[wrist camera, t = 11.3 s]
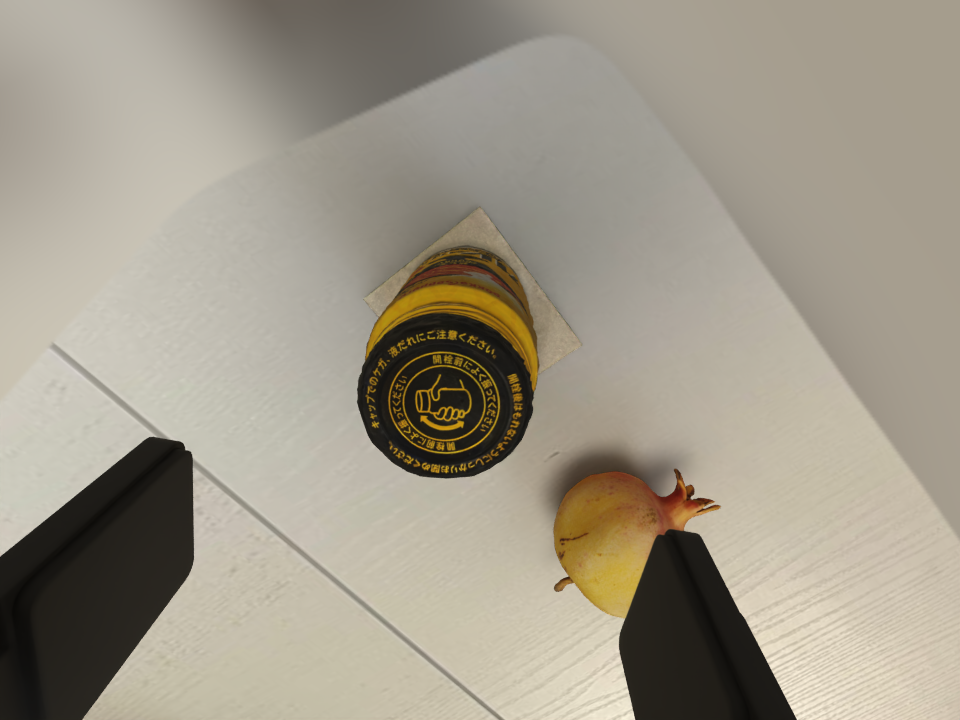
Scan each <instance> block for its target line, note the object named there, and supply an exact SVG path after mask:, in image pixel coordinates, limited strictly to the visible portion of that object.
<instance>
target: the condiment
mask: <svg viewBox="0 0 960 720" xmlns="http://www.w3.org/2000/svg"><path fill="white" fill-rule="evenodd" d="M363 300H364V301H365V302H366V303H367V304H368V306H369V307H370V308H371V309H372V310H373V311H374V312H375V314H376V315H377V316H378V317H379V318H378V320H377V322H376V323H375V325H374V327H373V330H372V332H371V335H370V339H369V341H368V343H367V347H366V356H365V363H364V365H363V367H362V373H361V375H360V377H359V380H358V388H357V391H358V400H357V403H358V407H359V411H360V414H361V417H362V420H363V422H364V425H365V428H366V431H367V434H368V436H369V438H370V440H371V441H372V443H373V444H374V445H375V446H376V447H377V448H378V449H379V450H380V451H381V452H382V453H383V454H384V455H385V456H386V457H387V458H388V459H389V460H390V461H391V462H393V463H394V464H395V465H397V466H399V467H401V468H402V469H404V470H406V471H407V472H410V473H413V474H416V475H419V476H422V477H432V478H457V477H470V476H475V475H477V474H479V473H481V472H484V471H486V470H488V469H490V468H492V467H493V466H494V465H496V464H497V463H499V462H501V461H503V460H504V459H505V458H506V457H507V456H508V455H510V454H511V453H512V452H513V450H514V449H515V448H516V446H517V445H518V444H519V443H520V441H521V440H522V438H523V436H524V433H525V431H526V429H527V426H528V423H529V420H530V418H531V416H532V413H533V406H532V401H533V398H534V397H533V395H534V391H535V389H536V384H537V375H538V374H540V373H542V372H543V371H545V370H546V369H548V368H549V367H551V366H552V365H553V364H555V363H556V362H557V361H559V360H560V359H562V358H564V357H565V356H567V355H568V354H570V353H571V352H573V351H574V350H576V349H577V348H579V347H580V346H582V344H581V342H580V341H579V339H578V338H577V337H576V335H575V334H574V333H573V331H572V330H571V329H570V327H569V326H568V325H567V323H566V322H565V321H564V319H563V318H562V317H561V315H560V314H559V313H558V311H557V310H556V309H555V307H554V306H553V304H552V303H551V302H550V300H549V299H548V298H547V296H546V295H545V293H544V292H543V291H542V289H541V288H540V287H539V285H538V284H537V283H536V281H535V280H534V278H533V277H532V276H531V274H530V273H529V272H528V270H527V269H526V268H525V266H524V265H523V263H522V262H521V261H520V259H519V258H518V257H517V255H516V254H515V253H514V251H513V250H512V249H511V247H510V246H509V245H508V243H507V242H506V240H505V239H504V238H503V236H502V235H501V234H500V232H499V231H498V230H497V228H496V227H495V226H494V224H493V223H492V221H491V220H490V219H489V217H488V216H487V215H486V213H485V212H484V211H483V210H482V208H481V207H479V208H478V209H476V210H475V211H474V212H473V213H471V214H470V215H469V216H468V217H466V218H465V219H464V220H463V221H461V222H460V223H459V224H457V225H456V226H455V227H454V228H452V229H451V230H450V231H449V232H447V233H446V234H445V235H444V236H442V237H441V238H440V239H438V240H437V241H436V242H435V243H433V244H432V245H431V246H430V247H428V248H427V249H426V250H425V251H423V252H422V253H421V254H420V255H418V256H417V257H416V258H414V259H413V260H412V261H411V262H409V263H408V264H407V265H406V266H404V267H403V268H402V269H401V270H399V271H398V272H397V273H396V274H394V275H393V276H392V277H390V278H389V279H388V280H387V281H386V282H384V283H383V284H382V285H381V286H379V287H378V288H377V289H376V290H374V291H373V292H372V293H371V294H369V295H368V296H367V297H365V298H364V299H363Z"/></svg>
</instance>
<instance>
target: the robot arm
mask: <svg viewBox="0 0 960 720" xmlns="http://www.w3.org/2000/svg"><path fill="white" fill-rule="evenodd" d="M193 561H194V527H193V458H192V454H191V452H190V451H187V450H185V446H184V444H183V443H182V442H179V441H174V440H168V439H162V438H157V437H149V438H147V439H146V440H144V441H143V442H142V443H141V444H139V445H138V446H137V447H136V448H134V449H133V450H132V451H131V452H129V453H128V454H127V455H126V456H124V457H123V458H122V459H121V460H119V461H118V462H117V463H116V464H114V465H113V466H112V467H111V468H110V469H108V470H107V471H106V472H105V473H103V474H102V475H101V476H100V477H98V478H97V479H96V480H95V481H93V482H92V483H91V484H90V485H88V486H87V487H86V488H85V489H84V490H82V491H81V492H80V493H79V494H77V495H76V496H75V497H74V498H72V499H71V500H70V501H69V502H67V503H66V504H65V505H64V506H62V507H61V508H60V509H59V510H58V511H56V512H55V513H54V514H53V515H51V516H50V517H49V518H48V519H46V520H45V521H44V522H43V523H41V524H40V525H39V526H38V527H36V528H35V529H34V530H33V531H32V532H30V533H29V534H28V535H27V536H25V537H24V538H23V539H22V540H20V541H19V542H18V543H17V544H15V545H14V546H13V547H12V548H10V549H9V550H8V551H7V552H5V553H4V554H3V555H2V556H1V557H0V720H82V719H83V718H84V716H85V715H86V714H87V712H88V711H89V710H90V708H91V707H92V706H93V704H94V703H95V701H96V700H97V699H98V697H99V696H100V695H101V693H102V692H103V691H104V689H105V688H106V687H107V685H108V684H109V683H110V681H111V680H112V678H113V677H114V676H115V674H116V673H117V672H118V670H119V669H120V668H121V666H122V665H123V664H124V662H125V661H126V660H127V658H128V657H129V656H130V654H131V653H132V651H133V650H134V649H135V647H136V646H137V645H138V643H139V642H140V641H141V639H142V638H143V637H144V635H145V634H146V633H147V631H148V630H149V629H150V627H151V626H152V624H153V623H154V622H155V620H156V619H157V618H158V616H159V615H160V614H161V612H162V611H163V610H164V608H165V607H166V606H167V604H168V603H169V602H170V600H171V599H172V597H173V596H174V595H175V593H176V592H177V591H178V589H179V588H180V587H181V585H182V584H183V583H184V581H185V580H186V578H187V577H188V575H189V573H190V571H191V569H192V566H193ZM619 650H620V655H621V660H622V664H623V668H624V673H625V677H626V681H627V685H628V690H629V694H630V698H631V703H632V707H633V711H634V716H635V720H797V719H796V717H795V715H794V713H793V711H792V709H791V707H790V706H789V704H788V702H787V700H786V698H785V696H784V694H783V692H782V690H781V688H780V686H779V684H778V682H777V680H776V678H775V676H774V674H773V673H772V671H771V669H770V667H769V665H768V663H767V661H766V659H765V657H764V655H763V653H762V651H761V649H760V647H759V645H758V643H757V641H756V640H755V638H754V636H753V634H752V632H751V630H750V628H749V626H748V624H747V622H746V620H745V619H744V617H743V616H742V614H741V613H740V612H739V610H738V608H737V606H736V604H735V602H734V600H733V598H732V596H731V594H730V592H729V590H728V588H727V587H726V585H725V583H724V581H723V579H722V577H721V575H720V573H719V571H718V569H717V567H716V565H715V563H714V561H713V559H712V557H711V555H710V553H709V551H708V549H707V547H706V545H705V543H704V542H703V540H702V538H701V536H700V535H699V534H697V533H692V532H686V531H680V530H675V529H668V530H667V531H666V532H665V534H664V535H661V534H659V535H657V536H656V538H655V540H654V543H653V545H652V548H651V551H650V553H649V556H648V559H647V562H646V564H645V567H644V570H643V572H642V575H641V578H640V580H639V583H638V586H637V589H636V591H635V594H634V597H633V599H632V602H631V605H630V607H629V610H628V613H627V616H626V618H625V621H624V624H623V626H622V629H621V632H620V637H619Z"/></svg>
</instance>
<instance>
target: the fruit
mask: <svg viewBox="0 0 960 720" xmlns="http://www.w3.org/2000/svg"><path fill="white" fill-rule="evenodd" d="M674 472H675V474H676V478H677V485H676V488H675V490H674V492H673V493H672V494H670V495H669V496H667V497H660V496H658V495H657V494H655V493H654V492H653V491H652V490H651V489H650V488H649V487H648V486H647V484H646V483H645V482H644V481H642V480H641V479H639V478H637V477H635V476H632V475H629V474H627V473H622V472H617V471H613V472H606V473H601V474H594V475H591V476H588V477H586V478H585V479H583V480H582V481H580V482H578V483H577V484H576V485H575V486H574V487H573V488H571V489H570V490H569V491H568V492H567V493H566V495H565V497H564V498H563V500H562V502H561V504H560V507H559V509H558V512H557V515H556V518H555V522H554V544H555V550H556V553H557V556H558V559H559V561H560V563H561V565H562V567H563V568H564V570H565V571H566V573H567V574H568V575H569V577H566V578H563V579H562V580H560V581H559V582H558V583H557V584H556V585H555V587H554V590H555V591H556V592H559V591H562V590H563V588H564V587H565V586H566V585H567V584H572V583H575V584H576V586H577V587H578V588H579V590H580V591H581V592H582V593H583V595H584V596H585V597H586V598H587V599H588V600H589V601H590V602H591V603H593V604H594V605H595V606H596V607H597V608H599V609H600V610H602V611H604V612H605V613H607V614H609V615H612V616H616V617H620V618H626V616H627V613H628V610H629V607H630V605H631V602H632V599H633V597H634V594H635V591H636V589H637V586H638V583H639V580H640V578H641V575H642V572H643V570H644V567H645V564H646V562H647V559H648V556H649V553H650V551H651V548H652V545H653V543H654V540H655V538H656V536H657V535H659V534H661V535H664V534H665V532H666V531H667V530H668V529H675V530H680V531H684V526H685V524H686V523H687V521H688V520H689V519H690V518H692V517H695V516H698V515H702V514H705V513H707V512H710V511H714V510H717V509H719V508H720V507H721V506H719V505H713V506H710V507H708V508H706V509H703V507H705V506H706V505H708V504H711V503H714V502H715V501H713V500H710V499H705V498H697V499H693V500H691V499H690V498H691V496H692V495H694V487H693V486H692V485H688V486H686V487H685V484H684V482H683V478H682V476H681V473H680V472H679V471H678V470H677V469H674Z"/></svg>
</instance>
